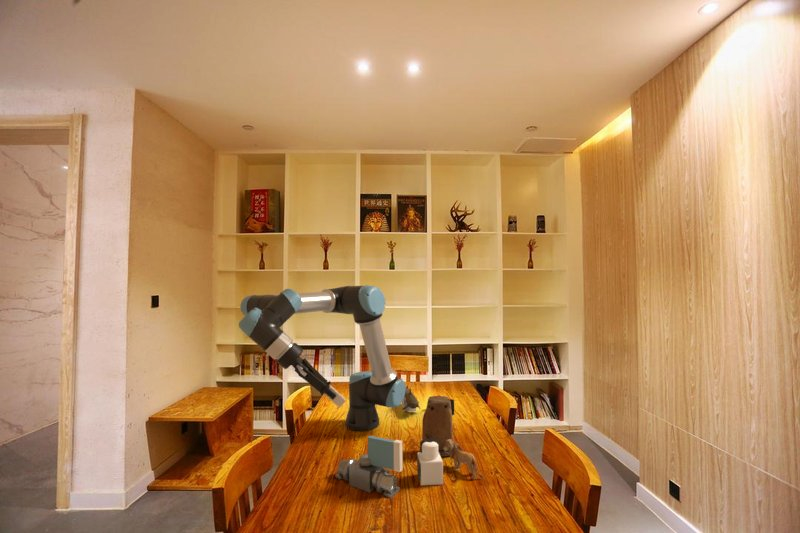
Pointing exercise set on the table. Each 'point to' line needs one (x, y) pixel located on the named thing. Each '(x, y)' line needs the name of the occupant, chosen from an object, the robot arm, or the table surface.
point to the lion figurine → (461, 457)
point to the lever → (383, 454)
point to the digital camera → (452, 406)
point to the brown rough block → (438, 421)
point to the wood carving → (409, 400)
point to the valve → (368, 477)
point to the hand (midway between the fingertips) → (342, 403)
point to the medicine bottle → (429, 463)
